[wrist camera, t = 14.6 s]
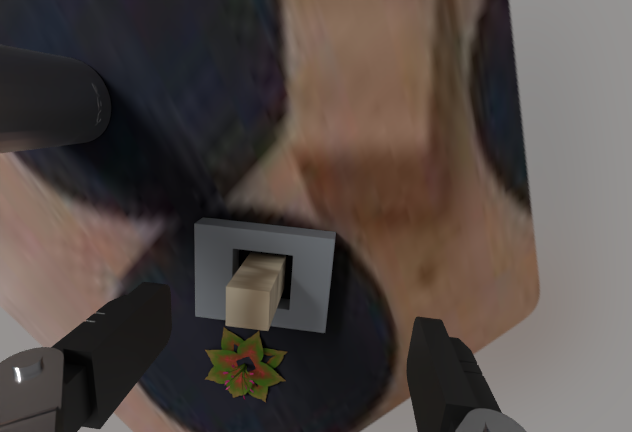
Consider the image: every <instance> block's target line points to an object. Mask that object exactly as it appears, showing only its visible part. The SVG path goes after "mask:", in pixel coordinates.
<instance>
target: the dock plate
mask: <svg viewBox="0 0 632 432" xmlns="http://www.w3.org/2000/svg"><path fill="white" fill-rule="evenodd" d="M194 237H195V316H197V317H205V318H213V319H220V320H226V286H227V284H228V283H229V282H230V280H231V279H232V277H233V276H234V275H235V273H236V272H237V270H238V269H239V249H241V250H250V251H258V252H267V253H275V254H284V255H292V256H293V266H292V280H291V294H290V299H284V298H281V299H280V301H279V304H278V306H277V309H276V312H275V314H274V317H273V320H272V322H271V325H270V326H274V327H282V328H289V329H297V330H305V331H312V332H320V333H325V330H326V322H327V312H328V303H329V293H330V284H331V275H332V265H333V256H334V246H335V237H336V232H331V231H322V230H313V229H304V228H295V227H286V226H277V225H268V224H259V223H250V222H241V221H232V220H223V219H214V218H205V217H203V218H201V219H200V220H198V221H197V222H196V223H194Z"/></svg>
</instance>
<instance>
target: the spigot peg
mask: <svg viewBox="0 0 632 432" xmlns="http://www.w3.org/2000/svg"><path fill="white" fill-rule="evenodd" d="M285 265H286V256H279V255H270V254H261V253H252V252H250V254H249V255H248V256H247V258H246V259H245V261H244V262H243V263H242V265H241V266H240V268H239V269H238V270H237V272H236V273H235V275H234V276H233V277H232V279H231V280H230V282H229V283H228V284H227V286H226V326H232V327H240V328H248V329H256V330H265V331H268V330H269V328H270V325H271V322H272V320H273V317H274V314H275V312H276V309H277V306H278V304H279V301H280V299H281V296H282V293H283V291H284V283H285Z"/></svg>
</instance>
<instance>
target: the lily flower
mask: <svg viewBox="0 0 632 432" xmlns="http://www.w3.org/2000/svg"><path fill="white" fill-rule="evenodd" d="M259 335H260V333H259V331H258V332H257V333H256V334H254V335H253V336H252V337H251V338H248V339H247V340H246V341H244V340H243V339H241V338H240V337H238V336H237V335H235V334H233V333H232V332H230V331H227V329H226V328H224V331H223V337H222V341H221V346H222V349H223V350H210V351H209V350H205V351H206V352H207V354H208V356H209V357H210V358H211V362H212V363H213V365H214V367H213V368H212V369H211V371H210V372H209V374H208V377H206V378H205V379H208V380H211V381H215V382H217V383H220V384H226V386H227V389H228V391H229V392H230V393H231V394H233V395H232V396H233V398H234V397H237V396H239V395H240V396H242V395H243V397H244V395H245V394H246V393H247V392H248V393H249V394H250V395H252V396H253V397H256V398H258V399H262V400H263V401H264V402H266V395H267V392H268V386H271V385H274V384H277V383H279V382H280V381H281V382H282V381H286V380H284V379H283V378H282V377H281V376H279V374H278V373H276V372H275V371H274V370H273V369H274V368H276V367H277V366H278V365H279V364H280V362H281V361H282V359H283V356H284V355H285V354H286V353H287V352H284V351H277V350H274V349H268V348H262V343H261V339H260V337H259ZM234 344H235V345H237V346H239V347H238V349H237V353H238V354H237V353H236V352H233V351H234ZM263 354H264V355H267V356H271V355H275V356H274V357H272V358H270V359H269V361H268V362H267V363H266V364H265V363H263V362H260V361H261V360H262V358H263ZM248 356H249V357H250V358H251V360H252V361H253V363H254V365H255V367H256V369H255V370H252V371H249V372H247V370H246V369H247V365H245V363H244V364H243V365H240V366H238V365H237V363H236V361H237V360H239V359H241V358H244V357H248ZM242 366H243V367H242ZM241 367H242V368H241ZM240 368H241V369H240ZM244 368H245V370H244ZM225 371H231V372H225ZM242 371H243V372H242ZM253 381H254V382H255V383H257V384H258V387H257V386H256V385H254V382H253ZM227 389H226V390H227ZM244 400H245V397H244Z"/></svg>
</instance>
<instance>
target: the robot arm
mask: <svg viewBox="0 0 632 432" xmlns="http://www.w3.org/2000/svg"><path fill="white" fill-rule="evenodd" d="M110 117H111V101H110V96H109V93H108V90H107V87H106V85H105V84H104V82H103V80H102V79H101V77H100V76H99V75H98V74H97V73H96V71H94V70H93V69H92V68H91V67H90V66H88V65H87V64H85V63H83V62H81V61H79V60H76V59H73V58H69V57H63V56H58V55H52V54H47V53H42V52H37V51H31V50H26V49H20V48H15V47H9V46H4V45H0V153H6V152H14V151H22V150H30V149H39V148H47V147H55V146H63V145H71V144H79V143H86V142H90V141H92V140H95V139H96V138H98V137H99V136H100V135H101V134H102V133H103V132H104V131H105V130H106V128H107V126H108V124H109V121H110ZM171 329H172V319H171V292H170V287H169V286H168V285H165V284H157V283H149V282H143V283H142V284H140V285H139V286H138V287H137V288H136V289H134V290H133V291H132V292H131V293H129V294H128V295H123V296H121V297H119V298H117V299H114V300H112V301H110V302H108V303H107V304H105V305H104V306H103V307H102V308H100V309H99V310H98V311H97V312H96V314H93V315H92V316H90V317H89V318H88V319H86V322H83V323H81V324H80V325H79V326H78V327H76V328H75V329H74V330H73V331H71V332H70V333H69V334H67V335H66V336H65V337H64V338H62V339H61V340H60V341H59V342H57V343H56V344H55V345H54V346H52V347H51V348H50V347H41V348H34V349H29V350H25V351H22V352H19V353H17V354H14V355H12V356H10V357H8V358H7V359H5V360H3V361H2V362H1V363H0V432H77V431H78V430H79V429H80V428H81V427H89V428H95V429H101V427H102V426H103V425H104V423H105V422H106V421H107V420H108V418H109V417H110V416H111V415H112V413H113V412H114V411H115V409H116V408H117V407H118V406H119V404H120V403H121V402H122V401H123V399H124V398H125V397H126V396H127V394H128V393H129V392H130V390H131V389H132V388H133V387H134V385H135V384H136V383H137V382H138V380H139V379H140V378H141V377H142V375H143V374H144V373H145V371H146V370H147V369H148V368H149V366H150V365H151V364H152V363H153V361H154V360H155V359H156V358H157V356H158V355H159V354H160V352H161V351H162V350H163V349H164V347H165V346H166V345H167V343H168V341H169V338H170V335H171ZM407 381H408V386H409V391H410V395H411V400H412V405H413V410H414V415H415V420H416V425H417V430H418V432H526V431H525V430H524V428H523V427H522V426H520V425H519V424H518V423H517V422H516V421H514V420H513V419H512V418H510V417H508V416H507V415H505V414H503V413H502V412H501V410H500V408H499V406H498V404H497V402H496V400H495V398H494V396H493V394H492V392H491V390H490V388H489V386H488V384H487V382H486V380H485V378H484V376H482V372H481V370H480V368H479V366H478V365H477V362H476V360H475V358H474V355H473V353H472V351H471V350H470V349H469V348H468V347H467V346H466V345H465V344H464V343H463V342H462V341H461V340H460V339H459V338H453V337H449V336H448V333H447V331H446V329H445V326H444V324H443V322H442V320H440V319H432V318H424V317H416V319H415V321H414V326H413V331H412V337H411V342H410V347H409V353H408V358H407Z"/></svg>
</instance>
